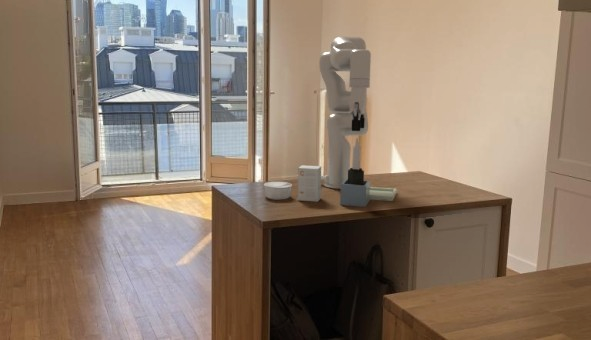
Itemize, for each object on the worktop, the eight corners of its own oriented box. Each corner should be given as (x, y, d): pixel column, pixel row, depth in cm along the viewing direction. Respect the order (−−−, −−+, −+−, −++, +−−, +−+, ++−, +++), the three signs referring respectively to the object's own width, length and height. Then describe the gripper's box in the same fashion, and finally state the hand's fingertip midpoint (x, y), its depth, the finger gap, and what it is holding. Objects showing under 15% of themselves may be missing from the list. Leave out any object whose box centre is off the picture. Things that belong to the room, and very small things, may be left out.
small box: (321, 198, 237) (321, 166, 235) (317, 202, 231) (318, 168, 229) (301, 197, 239) (301, 164, 237) (297, 200, 233) (297, 167, 231)
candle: (352, 205, 227) (354, 139, 223) (345, 201, 232) (347, 137, 227) (364, 203, 229) (366, 139, 225) (357, 200, 234) (359, 137, 229)
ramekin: (292, 200, 234) (292, 187, 233) (263, 200, 233) (264, 187, 232) (290, 194, 245) (291, 181, 244) (263, 194, 244) (263, 181, 243)
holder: (340, 204, 227) (340, 184, 226) (344, 199, 236) (345, 179, 235) (365, 206, 225) (366, 185, 223) (369, 201, 234) (369, 180, 233)
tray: (354, 198, 238) (354, 193, 238) (360, 190, 252) (360, 186, 252) (392, 201, 234) (392, 196, 234) (396, 193, 249) (396, 188, 248)
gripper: (353, 82, 231) (351, 126, 235) (345, 84, 215) (344, 131, 218) (372, 82, 230) (371, 127, 233) (366, 84, 213) (364, 132, 216)
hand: (358, 129), depth 225 cm, fingers open, 9 cm apart
